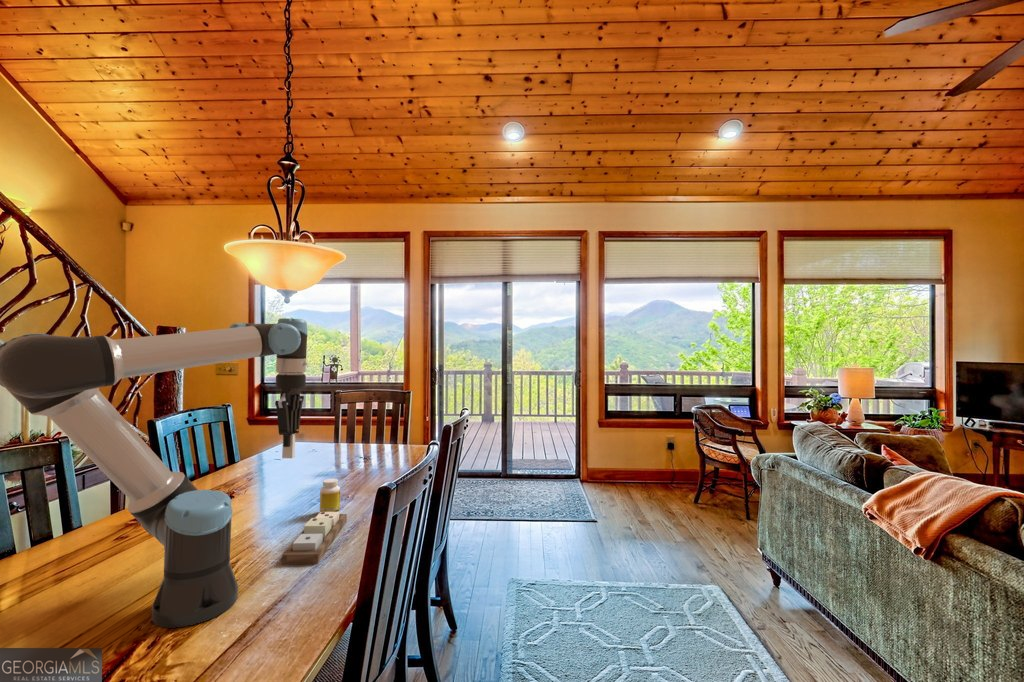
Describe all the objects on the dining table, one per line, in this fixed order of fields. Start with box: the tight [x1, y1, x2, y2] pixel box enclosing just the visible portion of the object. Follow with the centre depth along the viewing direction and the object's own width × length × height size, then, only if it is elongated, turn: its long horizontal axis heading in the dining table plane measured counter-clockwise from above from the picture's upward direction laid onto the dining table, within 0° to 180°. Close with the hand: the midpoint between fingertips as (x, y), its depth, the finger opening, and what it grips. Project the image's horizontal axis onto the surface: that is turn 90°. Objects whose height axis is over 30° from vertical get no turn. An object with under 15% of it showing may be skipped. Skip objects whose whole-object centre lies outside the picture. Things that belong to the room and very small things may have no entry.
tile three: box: [314, 511, 340, 525], centre depth 135 cm, size 6×6×3 cm
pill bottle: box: [319, 478, 341, 513], centre depth 148 cm, size 6×6×11 cm
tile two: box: [303, 517, 332, 537], centre depth 127 cm, size 6×6×3 cm
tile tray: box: [281, 513, 348, 565], centre depth 127 cm, size 27×9×2 cm, turn 6°
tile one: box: [292, 533, 323, 551], centre depth 119 cm, size 6×6×3 cm
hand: (288, 457), depth 123 cm, fingers closed
